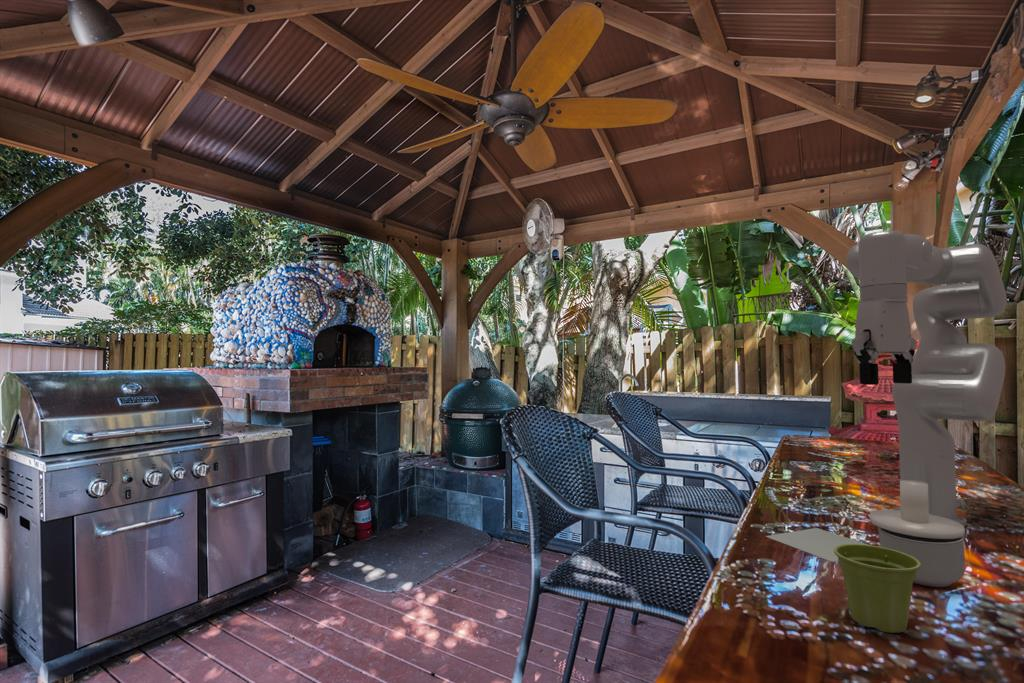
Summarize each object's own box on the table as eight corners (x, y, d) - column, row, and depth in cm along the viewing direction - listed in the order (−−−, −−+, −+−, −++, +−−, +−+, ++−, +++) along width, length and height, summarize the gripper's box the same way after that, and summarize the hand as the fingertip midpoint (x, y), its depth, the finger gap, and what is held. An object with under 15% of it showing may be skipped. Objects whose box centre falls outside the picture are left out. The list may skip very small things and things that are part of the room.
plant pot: (819, 606, 73) (818, 544, 73) (882, 604, 74) (880, 542, 74) (871, 642, 63) (869, 570, 64) (942, 639, 64) (940, 567, 65)
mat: (816, 529, 106) (816, 527, 106) (887, 553, 93) (887, 550, 93) (765, 538, 101) (765, 536, 101) (832, 564, 88) (832, 561, 88)
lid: (899, 512, 91) (898, 472, 91) (982, 533, 80) (980, 487, 80) (852, 520, 87) (851, 477, 87) (933, 543, 76) (931, 494, 76)
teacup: (984, 598, 75) (982, 542, 76) (900, 591, 78) (898, 537, 78) (928, 562, 89) (926, 515, 89) (857, 557, 91) (856, 511, 92)
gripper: (892, 299, 108) (895, 382, 107) (834, 296, 101) (836, 384, 101) (932, 295, 101) (935, 383, 100) (872, 291, 95) (876, 385, 94)
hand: (886, 383), depth 101 cm, fingers open, 9 cm apart
